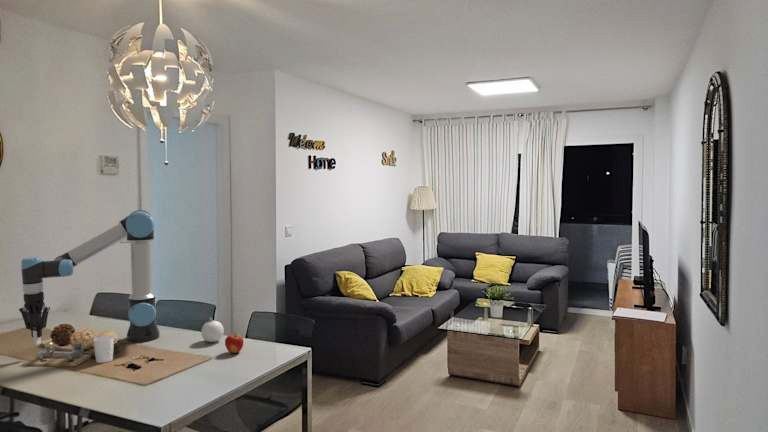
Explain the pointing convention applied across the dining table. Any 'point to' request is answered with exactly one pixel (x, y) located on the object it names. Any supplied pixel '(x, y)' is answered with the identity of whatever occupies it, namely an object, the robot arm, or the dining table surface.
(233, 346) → the apple
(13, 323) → the dining table surface
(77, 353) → the dividers beam
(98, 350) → the white cup
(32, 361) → the jig board
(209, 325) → the ornament
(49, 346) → the sliding leg
